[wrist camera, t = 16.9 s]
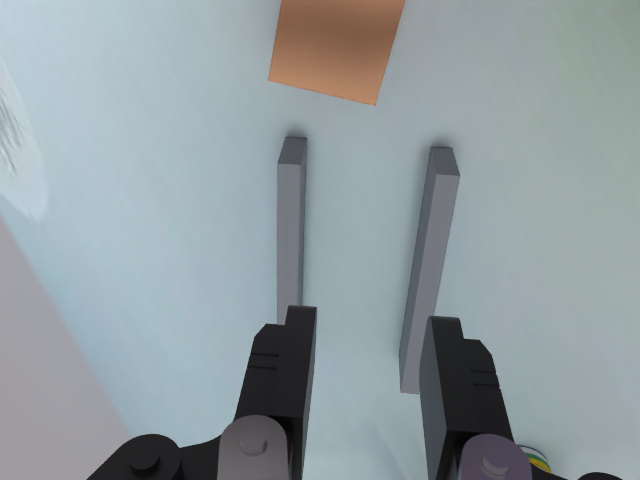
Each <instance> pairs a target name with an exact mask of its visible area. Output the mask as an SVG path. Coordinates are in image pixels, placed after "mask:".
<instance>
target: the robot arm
mask: <svg viewBox="0 0 640 480" xmlns="http://www.w3.org/2000/svg"><path fill="white" fill-rule="evenodd" d="M316 322H317V307H310V306H296V305H289V306H288V309H287V315H286V320H285V325H277V324H265V326H264V327H263V328H262V329H261V330H260V331H259V332H258V334H257V335H256V336H255V337H254V341H253V345H252V349H251V354H250V357H249V361H248V365H247V369H246V373H245V377H244V381H243V386H242V390H241V394H240V398H239V402H238V406H237V410H236V414H235V417H234V420H233V422H232V423H231V424H229V425H228V426H227V428H226V429H225V430H224V432H223V433H222V434H221V435H220V436H218V437H217V438H215V439H213V440H210V441H208V442H205V443H201V444H196V445H192V446H187V447H182V448H178V446H177V444H176V443H175V442H174V441H173V440H171V439H170V438H168V437H166V436H163V435H159V434H146V435H141V436H138V437H135V438H133V439H131V440H129V441H127V442H126V443H124V444H123V445H122V446H121V447H119V448H118V449H117V450H116V451H115V452H114V454H112V455H111V456H110V457H109V458H108V459H107V460H106V461H105V462H104V463H103V464H102V465H101V466H100V467H99V468H98V469H97V470H96V471H95V472H94V473H93V474H92V475H91V476H90V477H89V478H88V479H87V480H302V476H303V466H304V457H305V448H306V439H307V430H308V421H309V411H310V402H311V393H312V384H313V375H314V363H315V345H316ZM499 386H500V385H499V381H498V377H497V375H496V370H495V366H494V362H493V358H492V355H491V354H490V352H489V351H488V350H487V349H486V347H485V346H484V345H483V344H482V342H481V341H480V340H474V339H464V337H463V332H462V328H461V323H460V319H459V318H456V317H442V316H429V317H428V319H427V324H426V330H425V336H424V341H423V347H422V353H421V358H420V366H419V388H420V398H421V408H422V418H423V428H424V438H425V448H426V458H427V468H428V478H429V480H567V479H565V478H562V477H559V476H556V475H553V474H551V473H548V472H546V471H544V470H542V469H540V468H538V467H536V466H535V465H534V464H532V463H531V462H530V461H529V459H528V457H527V455H526V454H525V453H524V451H523V450H522V449H521V448H520V447H519V446H518V445H517V444H515V442H514V439H513V436H512V432H511V428H510V424H509V420H508V416H507V413H506V409H505V405H504V401H503V397H502V393H501V389H499ZM578 480H622V479H620V478H618V477H616V476H613V475H610V474H606V473H600V472H593V473H588V474H585V475H583V476H581V477H580V478H579V479H578Z"/></svg>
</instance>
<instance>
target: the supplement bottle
mask: <svg viewBox="0 0 640 480" xmlns="http://www.w3.org/2000/svg"><path fill="white" fill-rule="evenodd" d="M520 448H521V449H522V450H523V451H524V453H525V454H526V455H527V457H528V459H529V461H530V462H531V463H532V464H534V465H535V466H536V467H538V468H540V469H542V470H544V471H546V472H548V473H551V469H550V466H549V464H548V461H547V460H546V459H545V458H544V457H543V456H542V455H541V454H540V453H538V452H537V451H535V450H532V449H530V448H526V447H520ZM551 474H552V473H551Z"/></svg>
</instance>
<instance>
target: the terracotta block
mask: <svg viewBox="0 0 640 480" xmlns="http://www.w3.org/2000/svg"><path fill="white" fill-rule="evenodd" d="M404 2H405V0H282V2H281V8H280V14H279V19H278V25H277V31H276V37H275V43H274V48H273V54H272V60H271V66H270V71H269V77H268V81H273V82H277V83H281V84H285V85H289V86H293V87H298V88H302V89H306V90H310V91H314V92H318V93H322V94H327V95H331V96H335V97H339V98H343V99H347V100H352V101H356V102H360V103H364V104H368V105H372V106H375V104H376V101H377V97H378V94H379V90H380V87H381V83H382V80H383V76H384V73H385V69H386V66H387V62H388V59H389V55H390V52H391V48H392V45H393V41H394V38H395V34H396V31H397V27H398V23H399V20H400V16H401V13H402V9H403V6H404Z"/></svg>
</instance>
